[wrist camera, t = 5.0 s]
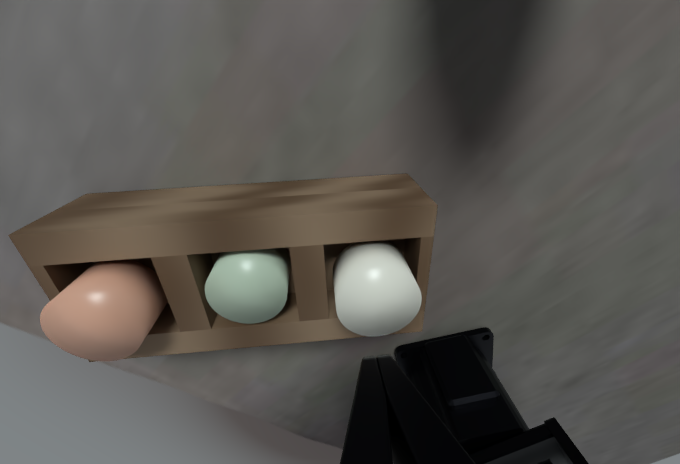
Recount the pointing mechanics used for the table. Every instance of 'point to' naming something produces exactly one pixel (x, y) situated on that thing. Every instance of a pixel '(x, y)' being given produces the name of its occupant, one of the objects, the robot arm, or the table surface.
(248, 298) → the sage egg
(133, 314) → the peach oval piece
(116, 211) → the wooden egg tray
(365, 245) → the white rounded piece
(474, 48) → the table surface
